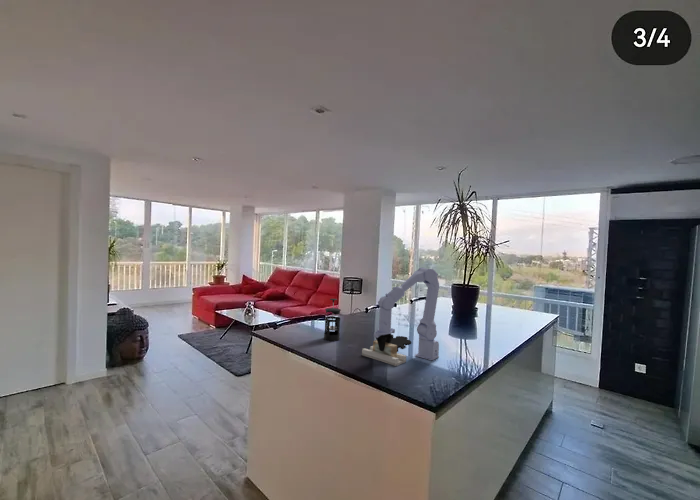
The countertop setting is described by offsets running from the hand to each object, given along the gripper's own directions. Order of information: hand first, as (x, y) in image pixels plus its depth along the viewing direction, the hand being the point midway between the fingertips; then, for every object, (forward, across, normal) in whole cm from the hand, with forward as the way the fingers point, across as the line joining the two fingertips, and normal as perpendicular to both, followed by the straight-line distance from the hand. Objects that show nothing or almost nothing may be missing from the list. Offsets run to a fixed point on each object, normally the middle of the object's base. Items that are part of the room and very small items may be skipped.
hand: (383, 350), depth 156 cm
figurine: (+5, -26, -11) cm, 29 cm away
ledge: (+4, 0, 0) cm, 4 cm away
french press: (+4, -5, -40) cm, 41 cm away
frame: (+3, 0, 0) cm, 3 cm away
